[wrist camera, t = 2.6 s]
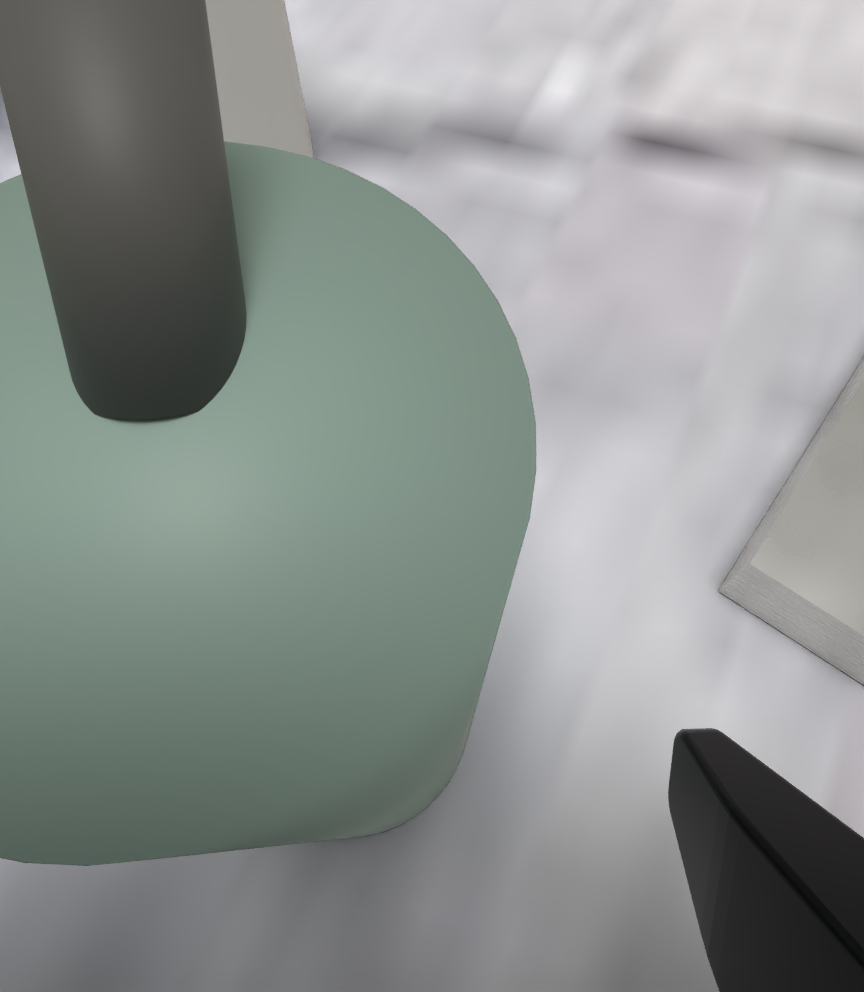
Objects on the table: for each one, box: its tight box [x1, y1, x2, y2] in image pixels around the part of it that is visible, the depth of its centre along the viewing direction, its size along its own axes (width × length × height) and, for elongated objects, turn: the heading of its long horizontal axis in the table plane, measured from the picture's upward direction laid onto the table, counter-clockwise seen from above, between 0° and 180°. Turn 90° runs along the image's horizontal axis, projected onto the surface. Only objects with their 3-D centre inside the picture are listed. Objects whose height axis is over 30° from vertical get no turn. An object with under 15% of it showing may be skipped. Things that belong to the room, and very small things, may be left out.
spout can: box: [0, 0, 536, 866], centre depth 10 cm, size 5×5×15 cm
